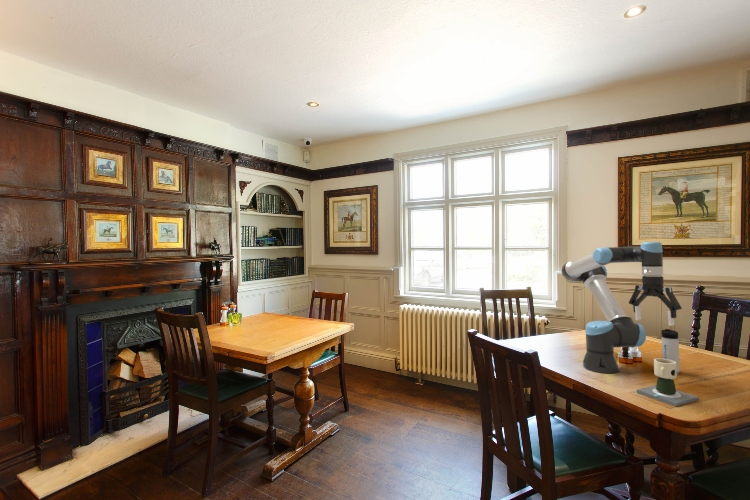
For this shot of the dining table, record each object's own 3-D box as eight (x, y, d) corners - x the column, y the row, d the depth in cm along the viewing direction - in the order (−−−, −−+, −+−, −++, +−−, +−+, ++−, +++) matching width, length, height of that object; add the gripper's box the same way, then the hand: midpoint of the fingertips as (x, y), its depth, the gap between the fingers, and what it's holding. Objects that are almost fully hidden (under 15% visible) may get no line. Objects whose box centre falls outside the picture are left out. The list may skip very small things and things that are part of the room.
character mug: (674, 399, 133) (673, 366, 133) (651, 393, 138) (650, 361, 138) (680, 391, 140) (678, 359, 140) (657, 386, 145) (656, 356, 145)
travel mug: (676, 370, 167) (675, 329, 167) (682, 374, 161) (680, 332, 161) (660, 368, 169) (659, 328, 169) (665, 373, 163) (663, 331, 163)
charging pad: (636, 392, 143) (636, 389, 143) (658, 387, 148) (658, 383, 148) (675, 406, 130) (675, 402, 130) (698, 400, 135) (698, 396, 135)
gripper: (618, 274, 165) (620, 318, 165) (679, 277, 141) (681, 328, 141) (629, 273, 167) (631, 317, 167) (690, 276, 144) (692, 327, 144)
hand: (654, 322), depth 154 cm, fingers open, 13 cm apart
